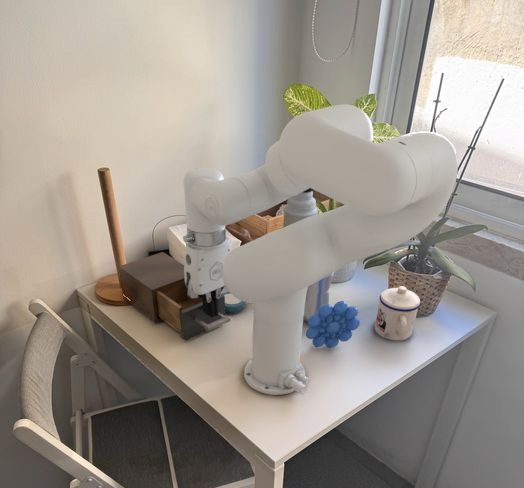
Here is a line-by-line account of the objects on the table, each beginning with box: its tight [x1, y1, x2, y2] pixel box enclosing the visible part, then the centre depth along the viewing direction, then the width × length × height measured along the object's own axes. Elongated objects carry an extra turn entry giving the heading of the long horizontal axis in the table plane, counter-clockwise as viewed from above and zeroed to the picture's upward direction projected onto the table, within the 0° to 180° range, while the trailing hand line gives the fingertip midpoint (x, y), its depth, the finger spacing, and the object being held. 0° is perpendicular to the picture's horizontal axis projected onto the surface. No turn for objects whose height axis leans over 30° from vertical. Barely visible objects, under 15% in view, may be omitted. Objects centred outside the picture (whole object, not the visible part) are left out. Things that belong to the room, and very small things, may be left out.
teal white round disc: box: [221, 291, 247, 314], centre depth 126 cm, size 7×7×3 cm
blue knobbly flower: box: [305, 300, 361, 349], centre depth 112 cm, size 12×7×12 cm, turn 93°
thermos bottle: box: [282, 188, 319, 294], centre depth 126 cm, size 8×8×28 cm
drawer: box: [155, 281, 231, 342], centre depth 116 cm, size 19×11×7 cm, turn 42°
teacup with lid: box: [374, 285, 421, 342], centre depth 116 cm, size 12×9×12 cm
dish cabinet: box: [118, 251, 185, 324], centre depth 125 cm, size 15×13×9 cm
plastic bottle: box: [303, 272, 335, 323], centre depth 117 cm, size 6×7×20 cm
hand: (210, 313), depth 112 cm, fingers closed
